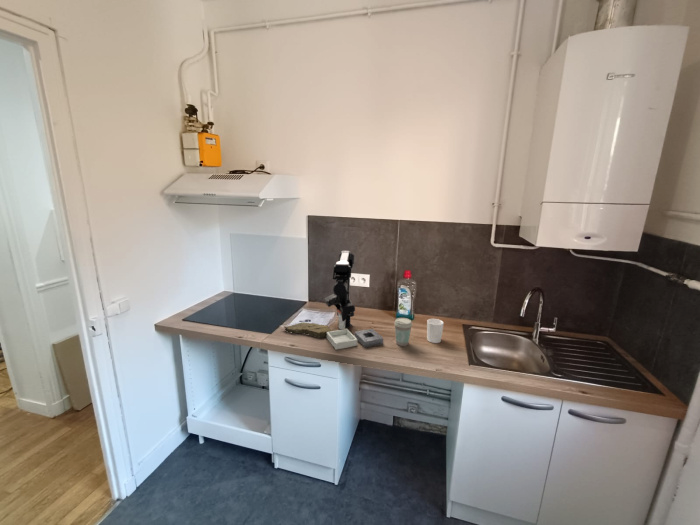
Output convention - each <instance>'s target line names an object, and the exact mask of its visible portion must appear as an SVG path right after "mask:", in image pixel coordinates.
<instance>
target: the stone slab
mask: <svg viewBox="0 0 700 525" xmlns="http://www.w3.org/2000/svg"><path fill="white" fill-rule="evenodd" d="M283 328H284V331H285V330H286V331H288V332H287V333H289V332H292V333H291V334H293V333H305V334H304V335H306V334H309V335H308V336H312V337H314V338H318V339H319V338H327V332H331V331H332V329H331V328H330V326H328V325H325V324H319V323H313V322H303V321H302V322H298V323H295V324H292V325H287V326H285V325H284V326H283ZM286 331H285V332H286Z"/></svg>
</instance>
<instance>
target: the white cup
mask: <svg viewBox="0 0 700 525" xmlns="http://www.w3.org/2000/svg"><path fill="white" fill-rule="evenodd" d="M443 331H444V321H443V320H441V319H438V318H429V319H427V320H426V340H427V341H428V342H429V343H433V344H439V343H441V341H442V336H443Z"/></svg>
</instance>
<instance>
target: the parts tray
mask: <svg viewBox="0 0 700 525" xmlns="http://www.w3.org/2000/svg"><path fill="white" fill-rule="evenodd" d="M326 339H327V340H328V341H329V343H330V344H331V346H332V347H333V348H334V349H335V350H341V349H346V348H351V347H356V346H358V340H357V339H356V337H355V334H352V332H351V331H350V330H349V329H348V328H344V329H339V330H331V332H327V337H326Z"/></svg>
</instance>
